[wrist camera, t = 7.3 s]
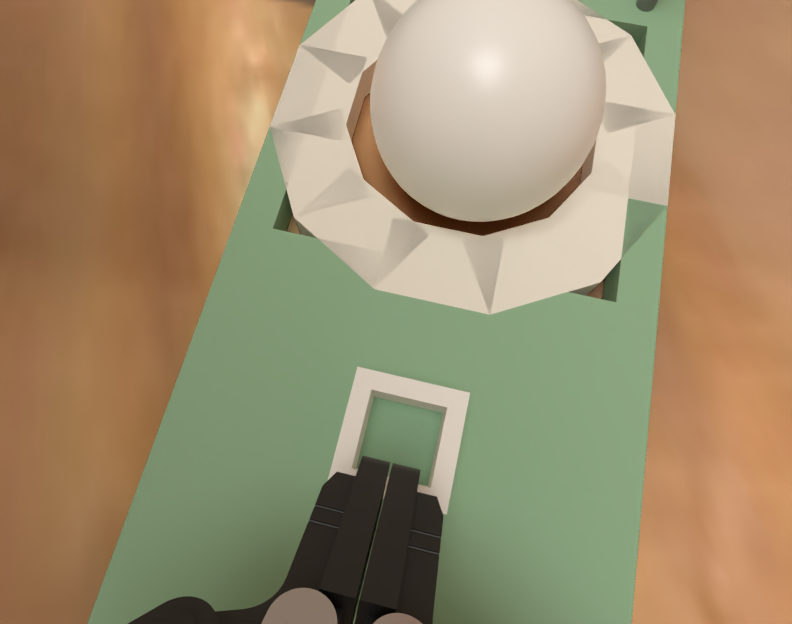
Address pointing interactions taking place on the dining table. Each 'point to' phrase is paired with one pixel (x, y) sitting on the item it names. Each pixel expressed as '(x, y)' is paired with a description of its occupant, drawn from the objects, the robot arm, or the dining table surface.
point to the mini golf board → (421, 356)
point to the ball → (487, 103)
